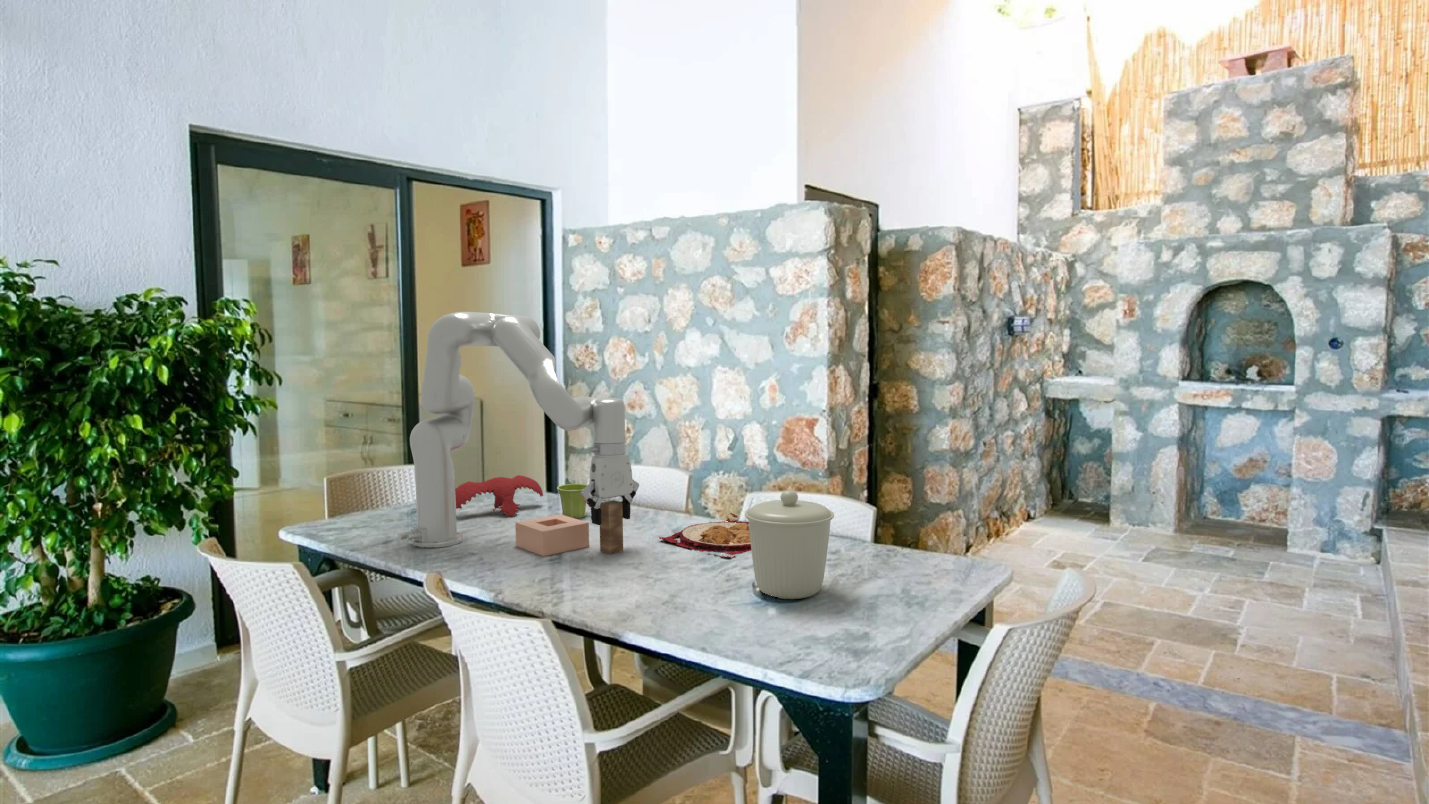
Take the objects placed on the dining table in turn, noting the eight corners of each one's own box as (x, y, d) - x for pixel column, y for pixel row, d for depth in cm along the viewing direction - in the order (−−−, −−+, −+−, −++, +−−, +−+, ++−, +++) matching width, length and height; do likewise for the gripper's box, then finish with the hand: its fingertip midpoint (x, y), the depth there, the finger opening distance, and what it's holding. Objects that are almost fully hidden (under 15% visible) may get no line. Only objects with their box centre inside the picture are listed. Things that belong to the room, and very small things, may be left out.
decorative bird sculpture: (548, 521, 255) (531, 481, 262) (559, 504, 250) (541, 463, 256) (458, 537, 237) (443, 493, 244) (467, 519, 232) (451, 474, 238)
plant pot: (597, 515, 244) (596, 485, 243) (575, 521, 236) (575, 491, 235) (572, 511, 249) (572, 482, 248) (550, 518, 241) (550, 488, 240)
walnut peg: (609, 554, 202) (608, 505, 201) (600, 551, 205) (599, 502, 204) (623, 551, 205) (622, 502, 204) (613, 548, 208) (612, 500, 207)
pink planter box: (543, 556, 201) (542, 531, 200) (516, 546, 211) (515, 522, 210) (589, 546, 210) (588, 522, 209) (560, 536, 219) (560, 514, 219)
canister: (762, 610, 162) (762, 502, 160) (733, 583, 179) (733, 485, 177) (848, 601, 167) (849, 496, 165) (812, 575, 184) (813, 480, 182)
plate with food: (657, 544, 214) (657, 530, 214) (729, 523, 233) (728, 511, 233) (727, 564, 197) (727, 549, 197) (799, 540, 216) (799, 526, 216)
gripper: (588, 455, 194) (589, 530, 196) (648, 447, 206) (649, 518, 208) (570, 451, 200) (572, 524, 201) (629, 444, 212) (630, 513, 213)
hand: (611, 520), depth 205 cm, fingers open, 7 cm apart
